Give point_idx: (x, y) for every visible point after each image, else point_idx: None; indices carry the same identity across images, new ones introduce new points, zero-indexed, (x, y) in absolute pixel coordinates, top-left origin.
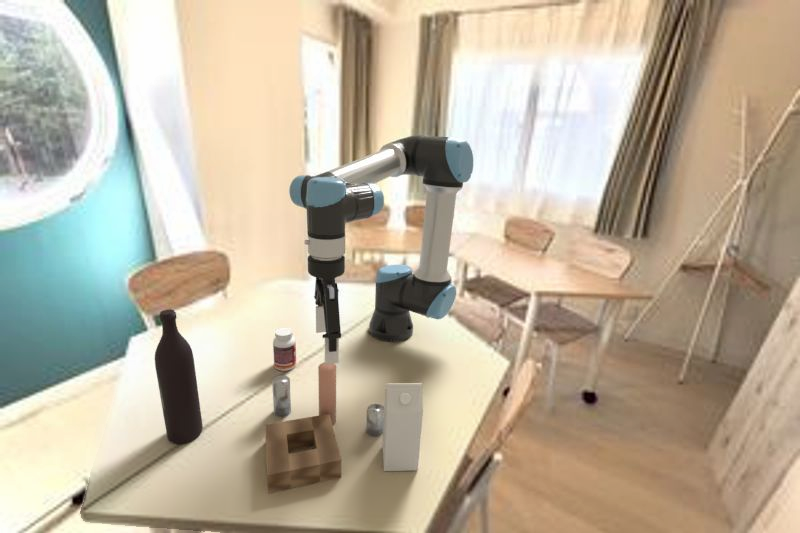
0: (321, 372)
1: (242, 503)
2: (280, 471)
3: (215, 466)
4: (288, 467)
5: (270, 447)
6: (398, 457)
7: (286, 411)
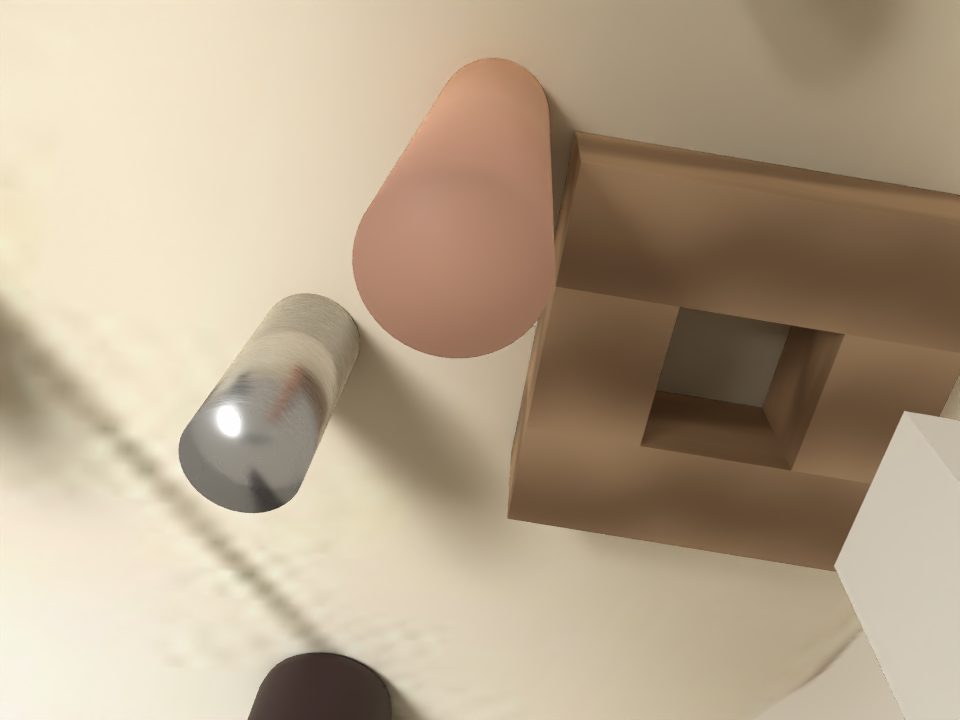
0: (506, 338)
1: (813, 586)
2: None
3: (568, 634)
4: None
5: (693, 530)
6: None
7: (350, 341)
